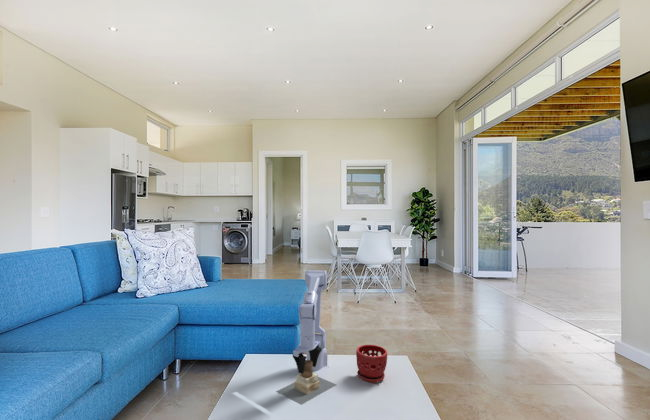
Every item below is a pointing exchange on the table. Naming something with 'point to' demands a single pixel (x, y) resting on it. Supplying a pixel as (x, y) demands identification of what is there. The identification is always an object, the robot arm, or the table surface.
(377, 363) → the plant pot
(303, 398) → the grey base plate
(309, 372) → the walnut cylinder
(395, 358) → the table surface
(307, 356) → the robot arm
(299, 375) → the birch top block
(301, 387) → the oak bottom block
